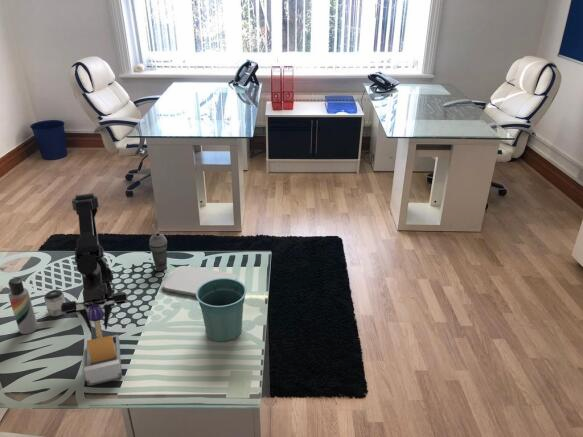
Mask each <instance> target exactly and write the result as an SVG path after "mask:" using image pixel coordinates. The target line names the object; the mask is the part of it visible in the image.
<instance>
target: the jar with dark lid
mask: <svg viewBox="0 0 583 437" xmlns="http://www.w3.org/2000/svg"><path fill="white" fill-rule="evenodd" d="M65 298H66V297H65V295H64V292H63V291H62V290H59V289H54V290H50V291H48V292H47V293H45V294H44V296H43V299H44V303H45V307H46V311H47V312H48V313H47V314H49V316H51V317H59V316H61V315H64V314H63V313H62V312H61V305H62V303H66V302H67V301H66V299H65Z"/></svg>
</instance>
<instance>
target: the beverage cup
mask: <svg viewBox="0 0 583 437" xmlns="http://www.w3.org/2000/svg"><path fill="white" fill-rule="evenodd" d="M151 225H152V229H153V232H154V233H153V234H152V235H151V236H150V238H149V241H148V242H149V243H148V246H149V249H150V252H151V255H152V259H153V264H154V267H155V269H156V270H157V271H164V270H166V269H167V268H168V254H167V252H168V251H167V248H168V240H167V238H166V236H165V235H164V234H162V233H157V232H156V229H155V224H151Z"/></svg>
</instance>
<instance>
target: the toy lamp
mask: <svg viewBox="0 0 583 437" xmlns="http://www.w3.org/2000/svg"><path fill="white" fill-rule="evenodd" d="M87 311H88V319H89V320H90V322H93V323H94V324H93V325H94V329H95V334H96V339H97V338H102V337H103V331H102V325H101V321H100V320H102V319H104V310H103V308H102V307H101V305H99V304H93V303H92V305H90V307H88V310H87Z"/></svg>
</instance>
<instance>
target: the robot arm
mask: <svg viewBox="0 0 583 437" xmlns="http://www.w3.org/2000/svg"><path fill="white" fill-rule="evenodd" d="M98 196H99V195H95V193H93V192H92V193H84V194H76V195H75V197H74V198H72V199H71V205H72V209H73V211H75V212H76V214H77V216H78V225H79V237H78V238H77V240H76V248H75V249H74V262H75V264H76V269H77V271H78V272H79V274H80V275H81V279H82V288H83V289H82V300H83V302H77V301H76V300H72V301H71V300H70V301H66V303H62V305H61V312H62V313H63V314H62V315H70V314H71V315H72V314H77V315H79V316H80V315H81V317H82V318H83V320H84V322H85V324H86V326H87V327H88V330H89V332H90V333H93V327H92V326H93V325H92V321H90V320H89V319H88V311H89V310H87V309H88V308H89V307H90V305H92V304H99V305H100V306H102V305H103V308H104V310H103V312H104V317H103V320H104V329H105V330H108V326H109V320H110V317H111V313H112V311H113V309H114V308H115V309H116V305H123V304H127V303H128V296H127V293H126V292H124V291H121V292H116V293H115V290H114V289H112V284H111V282H112V280H114V274H113V270H112V269H111V268H110V267H109V266H108V263H107V262H108V261H106V260H105V259H104V255H105V253H104V252H105V251H104V248H103V246H102V245H101V244H100V242H99V236H98V230H97V224H96V223H97V222H96V214H97V213H98V210H99V206H100V201H99V197H98ZM111 295H112V296H111Z"/></svg>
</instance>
